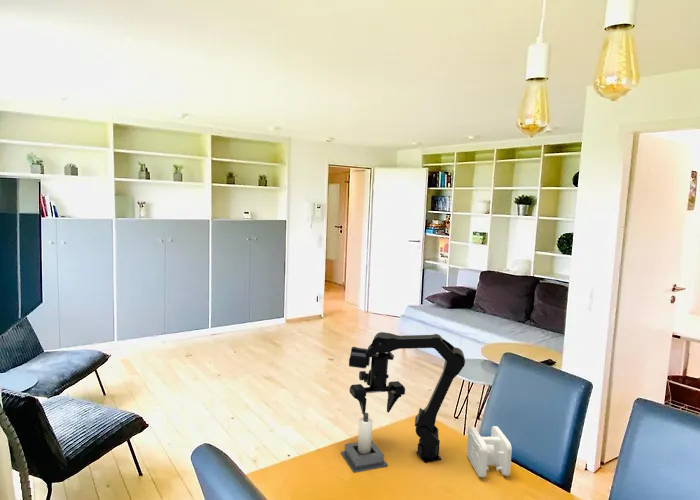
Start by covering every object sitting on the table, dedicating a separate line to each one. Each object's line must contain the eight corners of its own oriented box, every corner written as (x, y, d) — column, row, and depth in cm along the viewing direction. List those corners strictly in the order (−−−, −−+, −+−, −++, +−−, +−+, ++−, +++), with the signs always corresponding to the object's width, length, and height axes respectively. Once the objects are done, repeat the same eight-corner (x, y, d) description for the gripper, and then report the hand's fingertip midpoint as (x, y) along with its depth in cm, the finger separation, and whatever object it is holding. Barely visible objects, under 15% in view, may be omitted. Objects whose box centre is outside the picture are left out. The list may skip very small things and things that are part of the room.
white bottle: (370, 454, 157) (372, 410, 156) (371, 461, 152) (373, 417, 151) (356, 453, 157) (358, 410, 155) (357, 461, 152) (359, 416, 151)
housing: (372, 447, 162) (373, 438, 162) (387, 466, 151) (388, 455, 151) (340, 453, 158) (341, 443, 158) (353, 472, 147) (354, 461, 147)
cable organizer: (511, 481, 146) (514, 446, 145) (478, 481, 145) (481, 446, 144) (494, 455, 161) (496, 423, 159) (464, 455, 160) (466, 423, 159)
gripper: (393, 360, 169) (390, 401, 171) (345, 363, 163) (342, 405, 164) (407, 371, 159) (403, 414, 160) (356, 375, 152) (353, 420, 154)
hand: (375, 413), depth 160 cm, fingers open, 9 cm apart
